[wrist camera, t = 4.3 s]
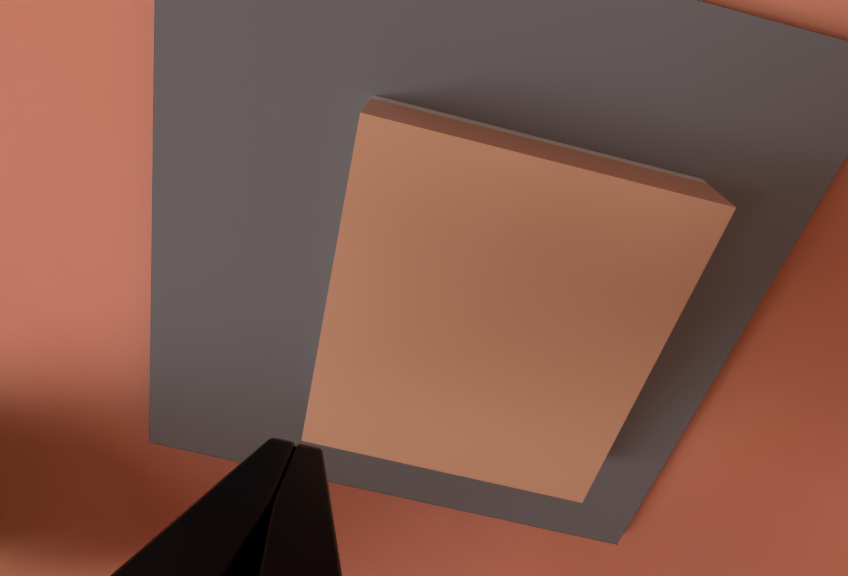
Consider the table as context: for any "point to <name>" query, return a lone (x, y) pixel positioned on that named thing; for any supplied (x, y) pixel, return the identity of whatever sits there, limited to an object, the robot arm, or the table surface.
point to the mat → (480, 101)
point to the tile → (499, 298)
